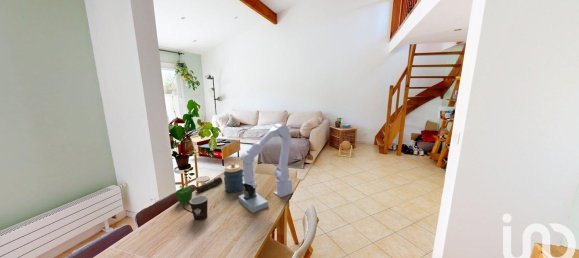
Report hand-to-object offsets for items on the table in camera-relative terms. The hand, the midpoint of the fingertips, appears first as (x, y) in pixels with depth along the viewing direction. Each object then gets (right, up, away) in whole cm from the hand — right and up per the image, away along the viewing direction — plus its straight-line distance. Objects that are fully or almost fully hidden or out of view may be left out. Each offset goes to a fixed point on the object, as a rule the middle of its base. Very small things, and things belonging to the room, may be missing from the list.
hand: (250, 195), depth 124 cm
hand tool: (-32, -2, +22) cm, 38 cm away
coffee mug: (-25, -8, -13) cm, 29 cm away
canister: (-14, -1, +18) cm, 23 cm away
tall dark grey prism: (0, -3, +1) cm, 3 cm away
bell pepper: (-39, -5, +3) cm, 40 cm away
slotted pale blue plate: (+2, -4, -2) cm, 5 cm away
